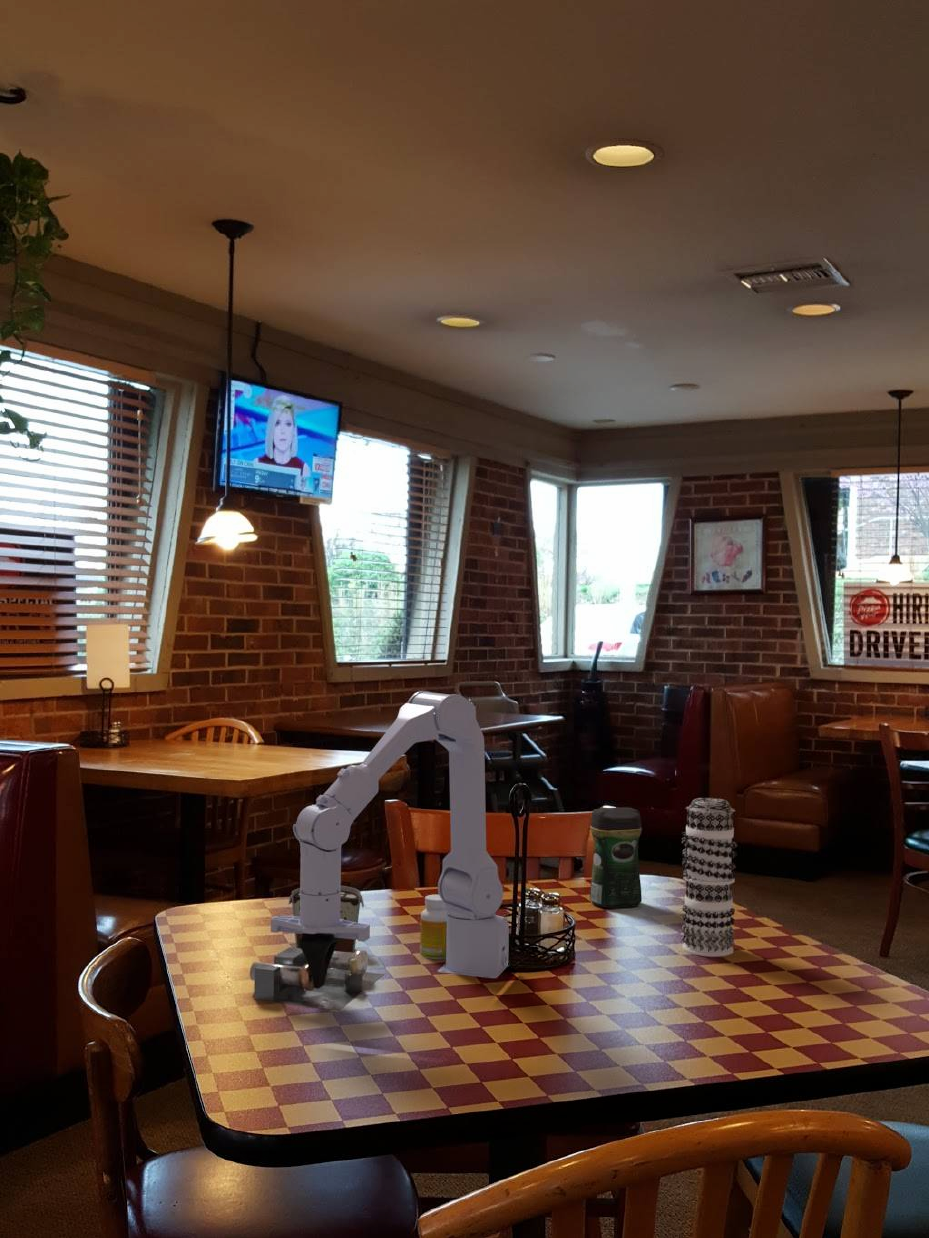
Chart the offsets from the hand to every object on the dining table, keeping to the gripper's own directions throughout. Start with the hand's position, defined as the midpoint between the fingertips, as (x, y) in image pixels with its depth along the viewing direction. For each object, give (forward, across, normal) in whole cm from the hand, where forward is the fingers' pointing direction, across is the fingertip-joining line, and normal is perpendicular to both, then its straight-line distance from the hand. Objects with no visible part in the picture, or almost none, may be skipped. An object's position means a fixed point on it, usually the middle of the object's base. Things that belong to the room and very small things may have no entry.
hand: (319, 986), depth 165 cm
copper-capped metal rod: (+1, -6, 0) cm, 6 cm away
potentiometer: (+2, +3, +4) cm, 6 cm away
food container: (+2, -9, +24) cm, 26 cm away
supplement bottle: (+2, +9, +26) cm, 28 cm away
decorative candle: (+2, +50, +46) cm, 68 cm away
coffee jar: (+2, +30, +71) cm, 77 cm away
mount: (+2, -2, +4) cm, 5 cm away
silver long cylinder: (+1, -1, +9) cm, 9 cm away
